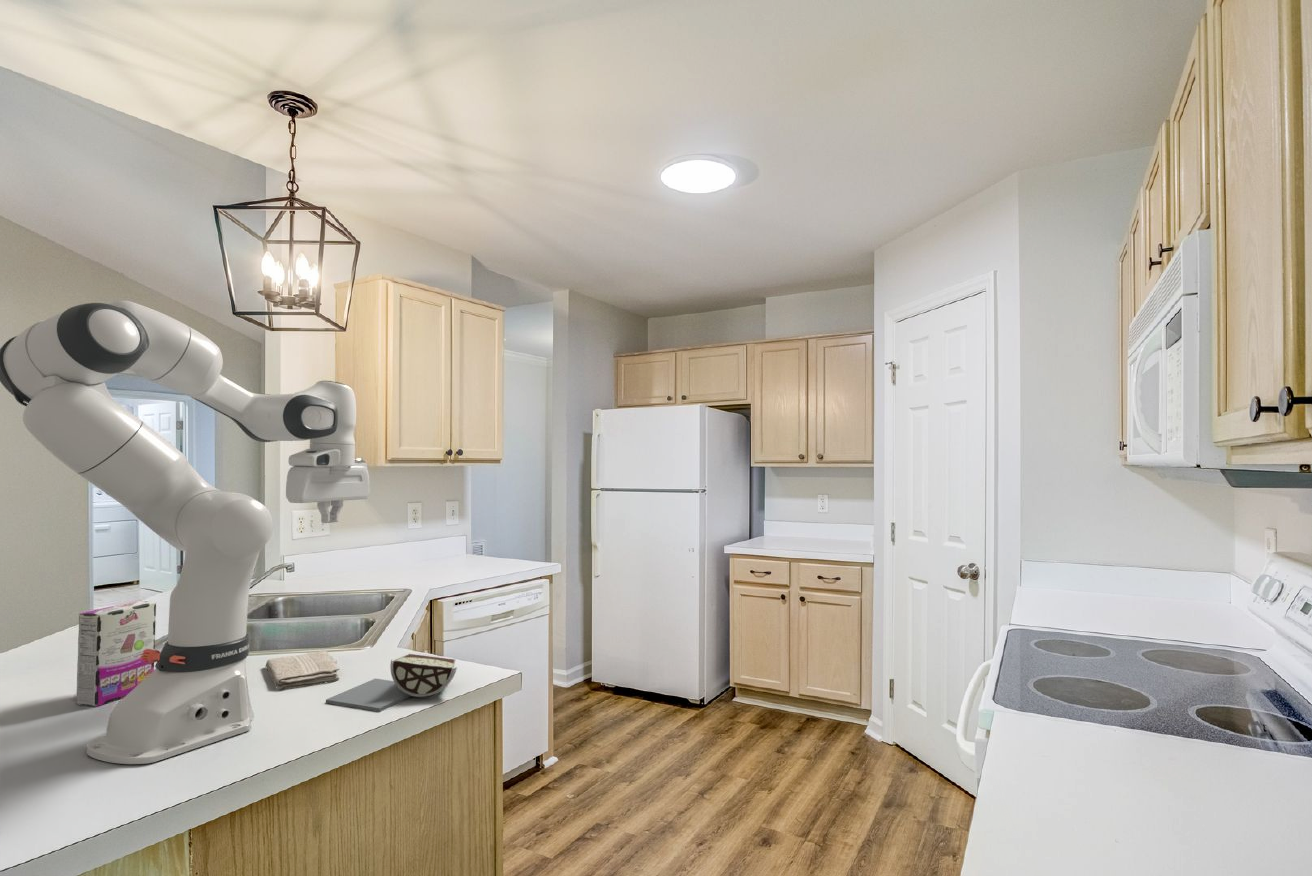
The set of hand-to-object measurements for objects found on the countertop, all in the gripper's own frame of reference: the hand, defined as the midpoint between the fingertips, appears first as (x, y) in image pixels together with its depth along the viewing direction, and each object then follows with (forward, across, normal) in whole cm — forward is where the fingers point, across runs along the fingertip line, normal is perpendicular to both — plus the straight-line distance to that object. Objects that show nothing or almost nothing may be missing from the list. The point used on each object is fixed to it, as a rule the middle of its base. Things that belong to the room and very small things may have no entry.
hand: (329, 522), depth 144 cm
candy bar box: (+31, +26, -23) cm, 47 cm away
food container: (+29, -1, +25) cm, 39 cm away
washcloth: (+32, +4, -2) cm, 32 cm away
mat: (+31, +9, +21) cm, 38 cm away
